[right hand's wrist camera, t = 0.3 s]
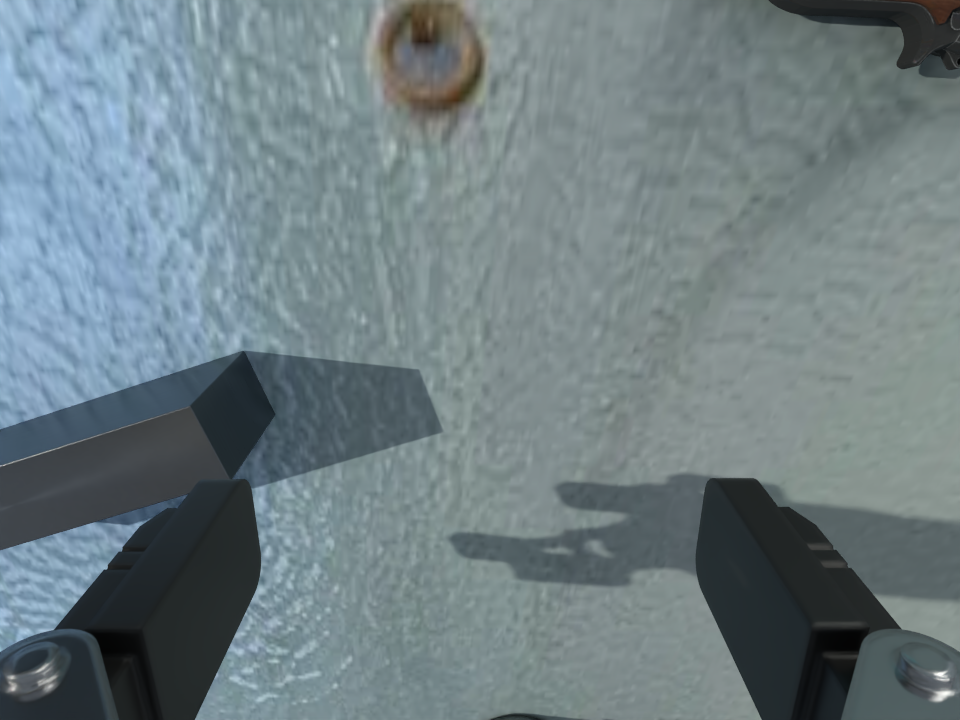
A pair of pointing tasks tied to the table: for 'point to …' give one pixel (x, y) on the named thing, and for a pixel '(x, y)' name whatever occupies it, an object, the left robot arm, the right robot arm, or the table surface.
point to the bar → (129, 448)
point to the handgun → (900, 23)
